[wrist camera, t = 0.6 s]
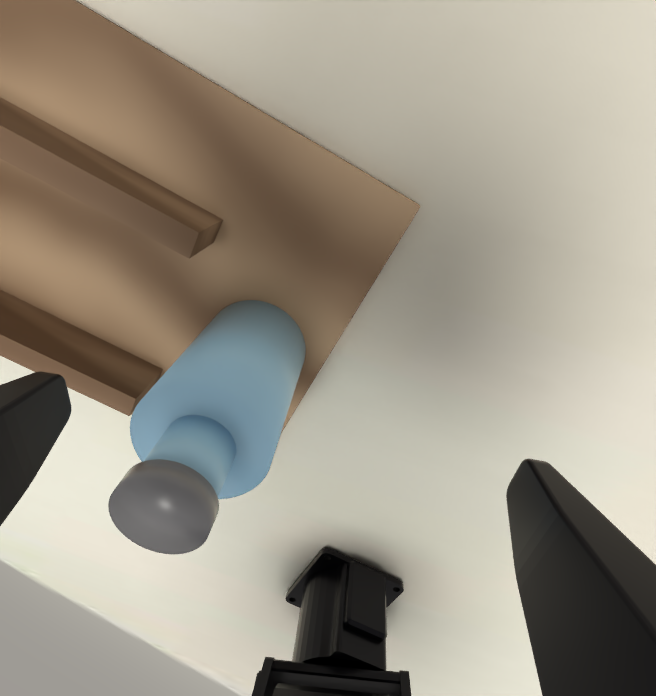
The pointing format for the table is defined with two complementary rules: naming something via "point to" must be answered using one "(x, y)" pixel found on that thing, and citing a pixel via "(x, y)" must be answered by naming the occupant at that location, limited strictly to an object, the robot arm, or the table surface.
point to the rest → (161, 209)
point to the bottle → (209, 427)
